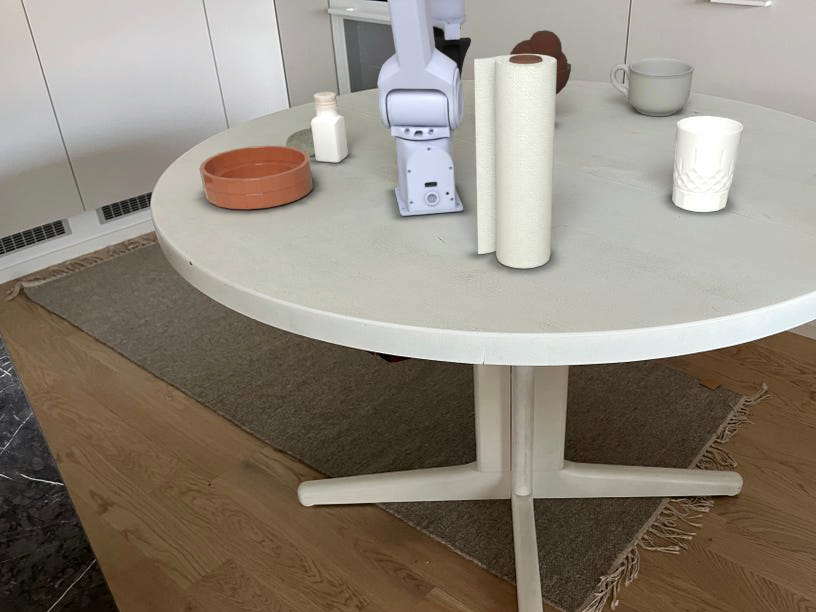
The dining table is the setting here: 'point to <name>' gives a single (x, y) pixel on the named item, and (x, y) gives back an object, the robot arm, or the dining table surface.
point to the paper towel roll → (515, 156)
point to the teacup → (656, 84)
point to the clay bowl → (256, 177)
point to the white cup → (705, 162)
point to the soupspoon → (302, 141)
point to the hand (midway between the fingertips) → (447, 83)
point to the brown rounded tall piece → (547, 53)
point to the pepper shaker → (328, 129)
